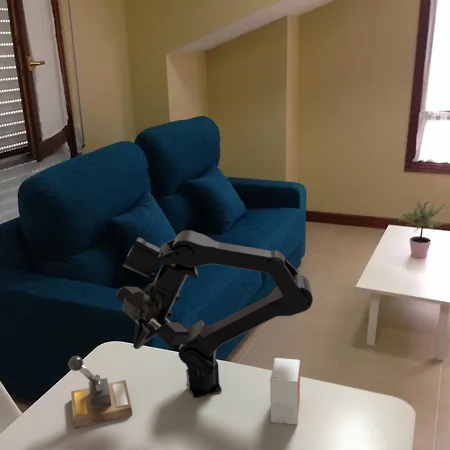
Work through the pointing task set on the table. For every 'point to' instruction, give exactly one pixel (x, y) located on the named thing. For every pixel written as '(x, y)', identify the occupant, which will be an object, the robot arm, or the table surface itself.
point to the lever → (85, 372)
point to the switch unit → (100, 403)
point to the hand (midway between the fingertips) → (135, 348)
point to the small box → (285, 391)
